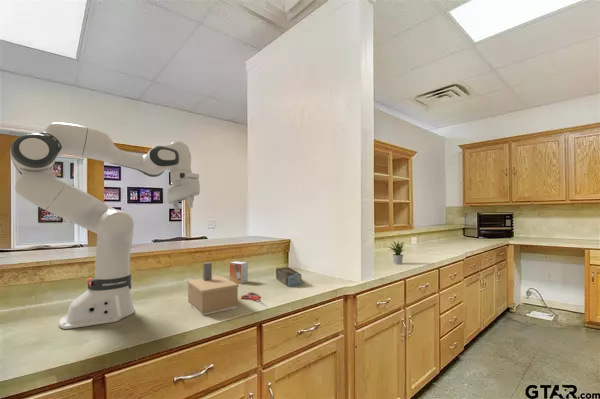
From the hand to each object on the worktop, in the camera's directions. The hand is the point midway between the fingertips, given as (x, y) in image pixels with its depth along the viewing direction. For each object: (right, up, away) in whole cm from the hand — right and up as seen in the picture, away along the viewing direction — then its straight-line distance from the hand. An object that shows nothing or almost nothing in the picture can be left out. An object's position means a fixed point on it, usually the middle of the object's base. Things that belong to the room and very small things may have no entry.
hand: (183, 209), depth 126 cm
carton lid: (+14, -30, -6) cm, 34 cm away
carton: (+14, -39, -6) cm, 42 cm away
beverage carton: (+44, -40, +30) cm, 67 cm away
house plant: (+119, -41, +81) cm, 150 cm away
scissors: (+33, -39, -1) cm, 51 cm away
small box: (+17, -40, +31) cm, 53 cm away
